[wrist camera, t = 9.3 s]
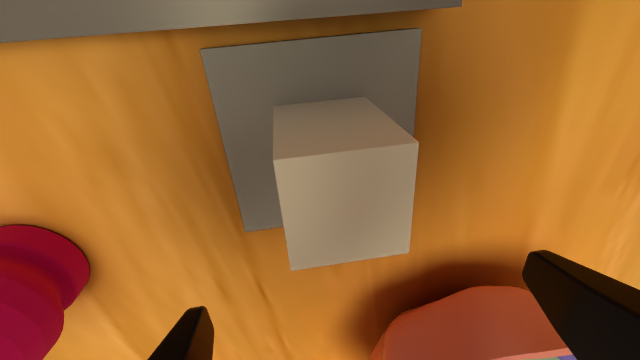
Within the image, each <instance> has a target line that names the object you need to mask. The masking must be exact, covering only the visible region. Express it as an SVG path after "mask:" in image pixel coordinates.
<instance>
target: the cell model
mask: <svg viewBox="0 0 640 360" xmlns="http://www.w3.org/2000/svg"><path fill="white" fill-rule="evenodd" d="M369 360H577V359H576V358H575V356H574V355H573V354H572V352H571V351H570V350H569V349H568V347H567V346H566V345H565V343H564V342H563V341H562V339H561V338H560V336H559V335H558V334H557V332H556V331H555V329H554V328H553V326H552V325H551V323H550V322H549V320H548V318H547V317H546V315H545V314H544V312H543V310H542V309H541V307H540V306H539V304H538V303H537V301H536V299H535V298H534V296H533V295H532V293H531V291H529V290H525V289H522V288H519V287H515V286H476V287H470V288H467V289H464V290H461V291H459V292H457V293H454V294H452V295H450V296H448V297H445V298H443V299H440V300H437V301H434V302H431V303H428V304H426V305H423V306H420V307H416V308H413V309H409V310H407V311H405V312H403V313H401V314H399V315H398V316H397V317H396V318H395V319H394V320H393V321H392V322H391V323H390V324H389V325H388V327H387V328H386V330H385V331H384V333H383V334H382V336H381V337H380V339H379V341H378V342H377V344H376V346H375V348H374V350H373V351H372V353H371V356H370V358H369Z"/></svg>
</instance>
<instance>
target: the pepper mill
mask: <svg viewBox="0 0 640 360" xmlns="http://www.w3.org/2000/svg"><path fill="white" fill-rule="evenodd" d="M89 274H90V269H89V265H88V261H87V259H86V258H85V256H84V255H83V253H82V252H81V250H80V249H78V248H77V247H76V246H75V245H74V244H73V243H72V242H71V241H69V240H67V239H65V238H64V237H62V236H60V235H58V234H56V233H53V232H51V231H48V230H46V229H41V228H37V227H32V226H24V225H10V226H3V227H0V360H42V359H43V358H44V357H45V356H46V355H47V353H48V352H49V351H50V350H51V348H52V347H53V346H54V345H55V343H56V342H57V340H58V339H59V337H60V335H61V332H62V330H63V325H64V310H65V309H67V308H68V307H69V306H70V305H71V304H72V303H73V302H74V301H75V299H76V298H77V296H78V295H79V293H80V292H81V291H82V289H83V288H84V286H85V285H86V283H87V281H88V279H89Z"/></svg>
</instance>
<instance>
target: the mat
mask: <svg viewBox="0 0 640 360" xmlns="http://www.w3.org/2000/svg"><path fill="white" fill-rule="evenodd" d="M421 33H422V28H412V29H401V30H391V31H380V32H370V33H359V34H349V35H338V36H328V37H318V38H307V39H297V40H286V41H276V42H265V43H255V44H244V45H234V46H223V47H213V48H203V49H200V53H201V57H202V61H203V65H204V69H205V73H206V77H207V81H208V85H209V89H210V93H211V97H212V101H213V105H214V109H215V113H216V117H217V121H218V125H219V129H220V133H221V137H222V141H223V145H224V149H225V153H226V157H227V161H228V165H229V169H230V173H231V177H232V181H233V185H234V189H235V193H236V197H237V201H238V205H239V209H240V213H241V217H242V221H243V225H244V229H245V232H251V231H258V230H264V229H271V228H278V227H284V225H283V219H282V213H281V207H280V201H279V195H278V188H277V182H276V176H275V170H274V164H273V106H281V105H290V104H299V103H309V102H318V101H327V100H337V99H346V98H356V97H366V98H367V99H369V100H370V101H371V102H372V103H373V104H374V105H376V106H377V107H378V108H379V109H380V110H381V111H383V112H384V113H385V114H386V115H387V116H389V117H390V118H391V119H392V120H393V121H394V122H396V123H397V124H398V125H399V126H400V127H401V128H403V129H404V130H405V131H406V132H407V133H409V134H410V135H411V136H412V137H413V138H414V125H415V112H416V99H417V86H418V73H419V60H420V46H421Z"/></svg>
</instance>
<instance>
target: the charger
mask: <svg viewBox="0 0 640 360" xmlns="http://www.w3.org/2000/svg"><path fill="white" fill-rule="evenodd" d="M418 149H419V142H418V141H417V140H416V139H414V138H413V137H412V136H411V135H410V134H409V133H407V132H406V131H405V130H404V129H403V128H401V127H400V126H399V125H398V124H397V123H396V122H394V121H393V120H392V119H391V118H390V117H389V116H387V115H386V114H385V113H384V112H383V111H381V110H380V109H379V108H378V107H377V106H376V105H374V104H373V103H372V102H371V101H370V100H369V99H367V98H366V97H356V98H346V99H337V100H327V101H318V102H309V103H299V104H290V105H281V106H273V164H274V170H275V176H276V182H277V188H278V195H279V201H280V207H281V213H282V219H283V225H284V231H285V238H286V244H287V250H288V256H289V262H290V268H291V271H295V270H301V269H308V268H314V267H321V266H327V265H334V264H340V263H347V262H353V261H360V260H366V259H373V258H380V257H386V256H393V255H399V254H406V253H409V246H410V235H411V224H412V213H413V203H414V192H415V181H416V170H417V159H418Z"/></svg>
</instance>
